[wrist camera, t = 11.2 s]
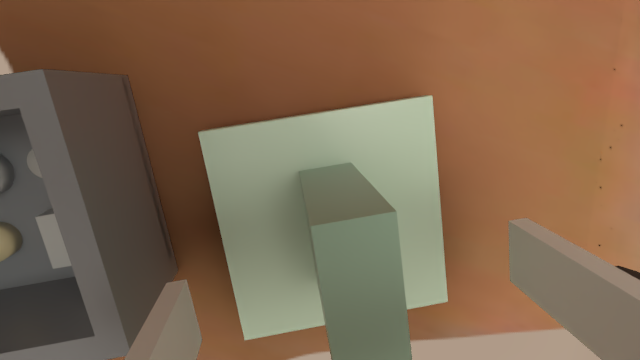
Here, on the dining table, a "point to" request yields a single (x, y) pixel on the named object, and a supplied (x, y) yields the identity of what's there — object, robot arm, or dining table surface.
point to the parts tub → (76, 218)
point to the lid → (332, 223)
